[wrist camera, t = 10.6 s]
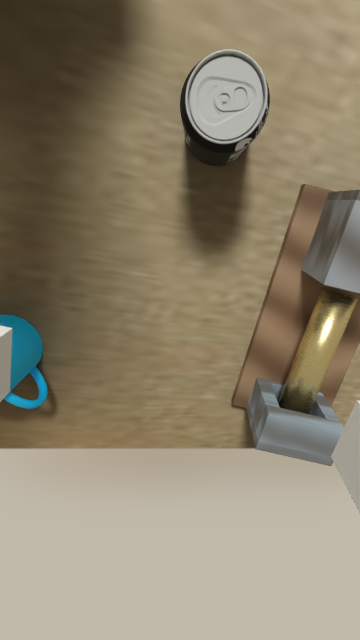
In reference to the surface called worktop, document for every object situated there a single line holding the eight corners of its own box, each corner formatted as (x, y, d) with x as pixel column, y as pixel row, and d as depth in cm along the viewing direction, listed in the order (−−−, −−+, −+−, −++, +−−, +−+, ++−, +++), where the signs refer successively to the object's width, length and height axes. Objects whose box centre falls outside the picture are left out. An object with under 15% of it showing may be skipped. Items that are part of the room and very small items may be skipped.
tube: (316, 284, 37) (328, 293, 34) (349, 292, 37) (364, 301, 34) (270, 409, 42) (276, 427, 39) (298, 415, 42) (307, 434, 39)
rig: (301, 184, 37) (333, 179, 28) (410, 211, 37) (473, 214, 28) (231, 399, 45) (239, 445, 37) (319, 420, 46) (347, 469, 37)
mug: (-33, 340, 45) (-81, 369, 37) (7, 301, 43) (-35, 323, 35) (36, 403, 47) (5, 442, 39) (77, 368, 45) (52, 403, 37)
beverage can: (180, 100, 35) (172, 51, 23) (246, 88, 34) (271, 32, 23) (189, 171, 37) (186, 157, 25) (251, 161, 36) (276, 142, 25)
